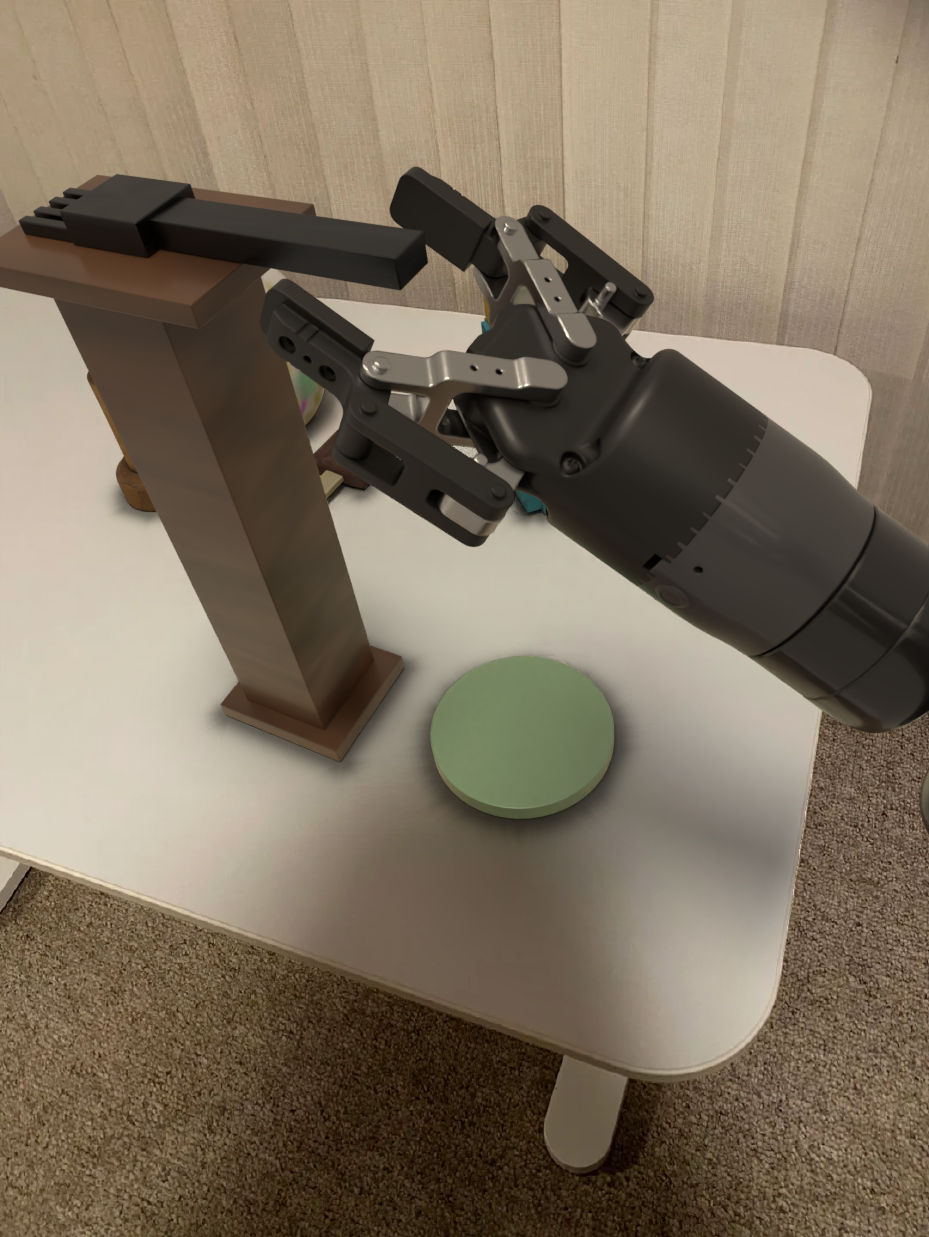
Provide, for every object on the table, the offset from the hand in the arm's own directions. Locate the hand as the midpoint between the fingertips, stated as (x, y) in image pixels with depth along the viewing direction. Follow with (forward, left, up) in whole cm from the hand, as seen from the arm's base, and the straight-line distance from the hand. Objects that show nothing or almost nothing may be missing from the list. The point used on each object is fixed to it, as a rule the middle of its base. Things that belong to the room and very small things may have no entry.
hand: (338, 242), depth 33 cm
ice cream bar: (+21, +20, -32) cm, 43 cm away
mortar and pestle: (+13, +34, -32) cm, 49 cm away
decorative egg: (+24, +31, -32) cm, 51 cm away
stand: (0, +10, -32) cm, 33 cm away
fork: (0, +6, -1) cm, 6 cm away
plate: (+2, -4, -32) cm, 32 cm away
